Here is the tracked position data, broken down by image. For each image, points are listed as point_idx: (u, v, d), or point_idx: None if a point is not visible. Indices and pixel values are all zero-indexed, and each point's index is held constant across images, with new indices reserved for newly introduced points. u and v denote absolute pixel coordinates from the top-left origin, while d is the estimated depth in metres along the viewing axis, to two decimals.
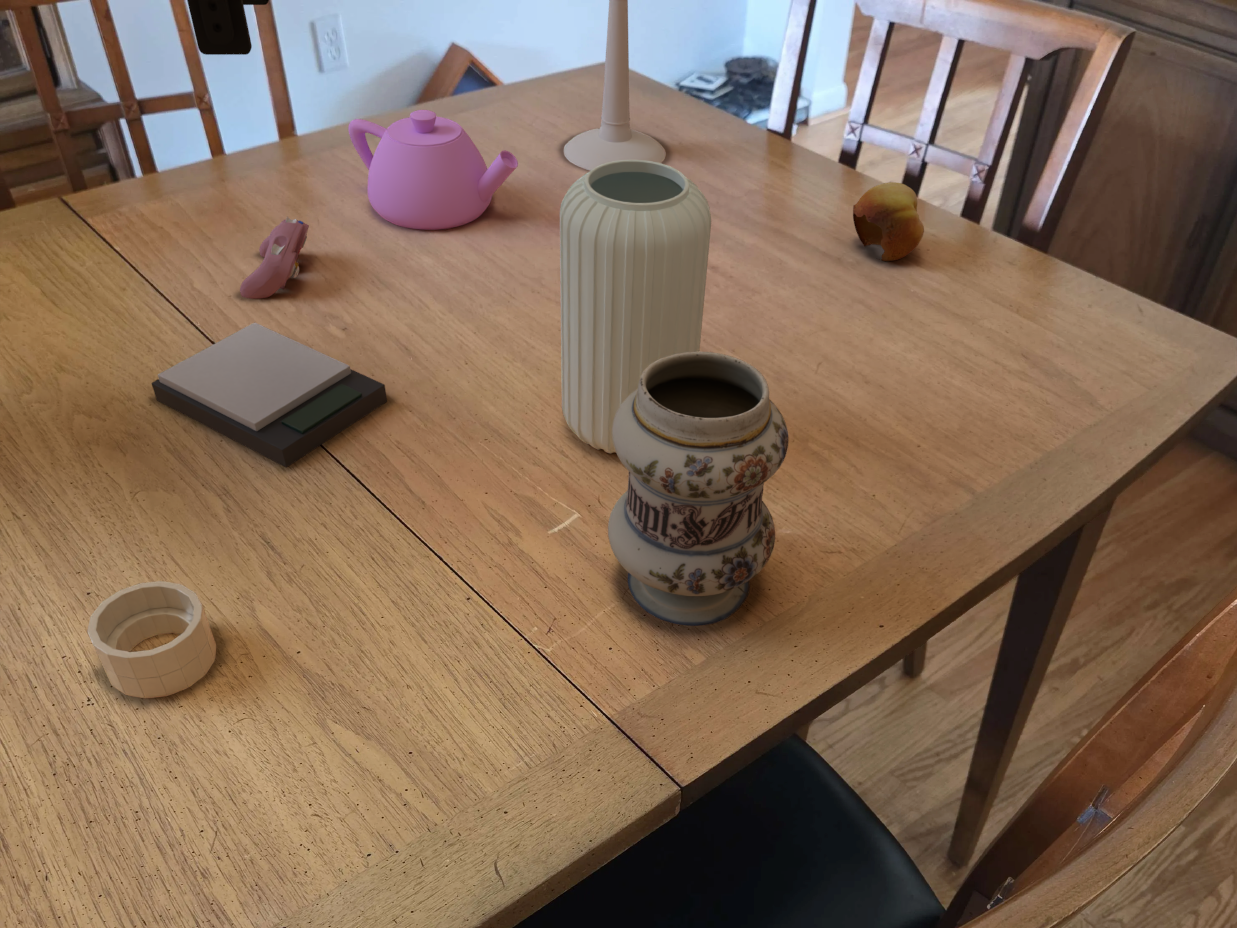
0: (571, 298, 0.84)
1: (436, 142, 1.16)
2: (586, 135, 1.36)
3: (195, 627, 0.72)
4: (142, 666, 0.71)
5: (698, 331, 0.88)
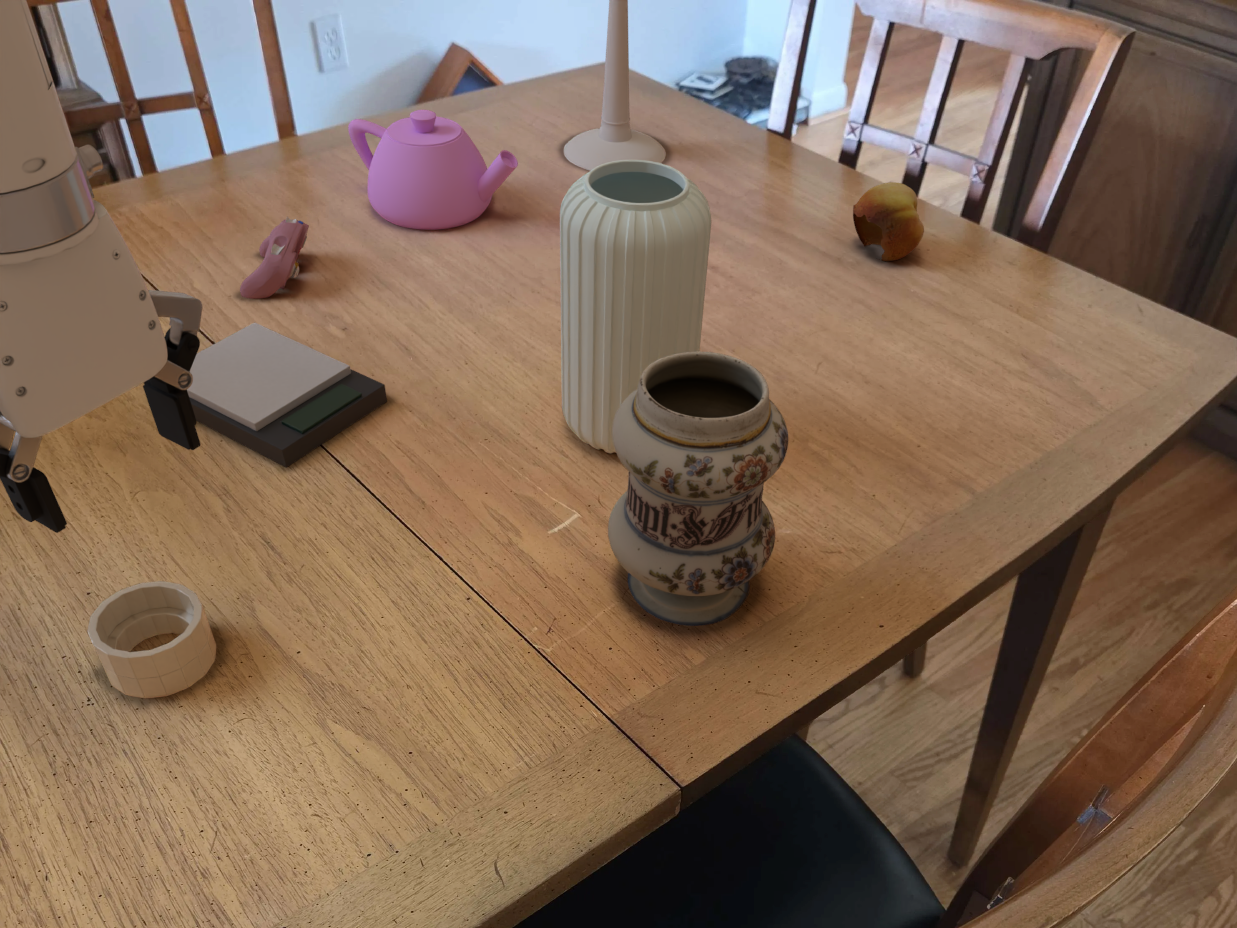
0: (571, 298, 0.84)
1: (436, 142, 1.16)
2: (586, 135, 1.36)
3: (195, 627, 0.72)
4: (142, 666, 0.71)
5: (698, 331, 0.88)
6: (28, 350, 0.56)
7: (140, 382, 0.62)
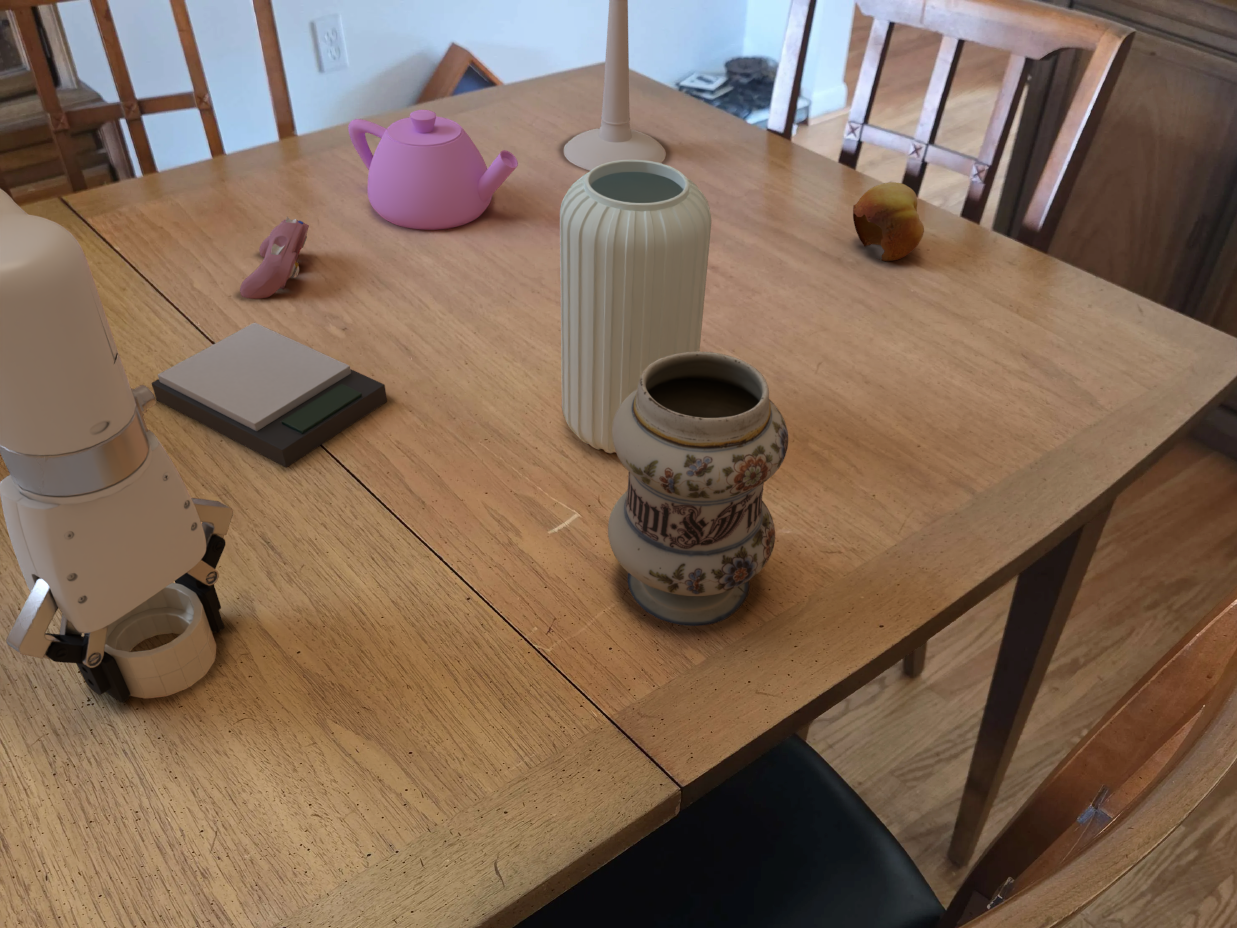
0: (571, 298, 0.84)
1: (436, 142, 1.16)
2: (586, 135, 1.36)
3: (195, 627, 0.72)
4: (142, 666, 0.71)
5: (698, 331, 0.88)
6: (89, 566, 0.64)
7: (182, 573, 0.71)
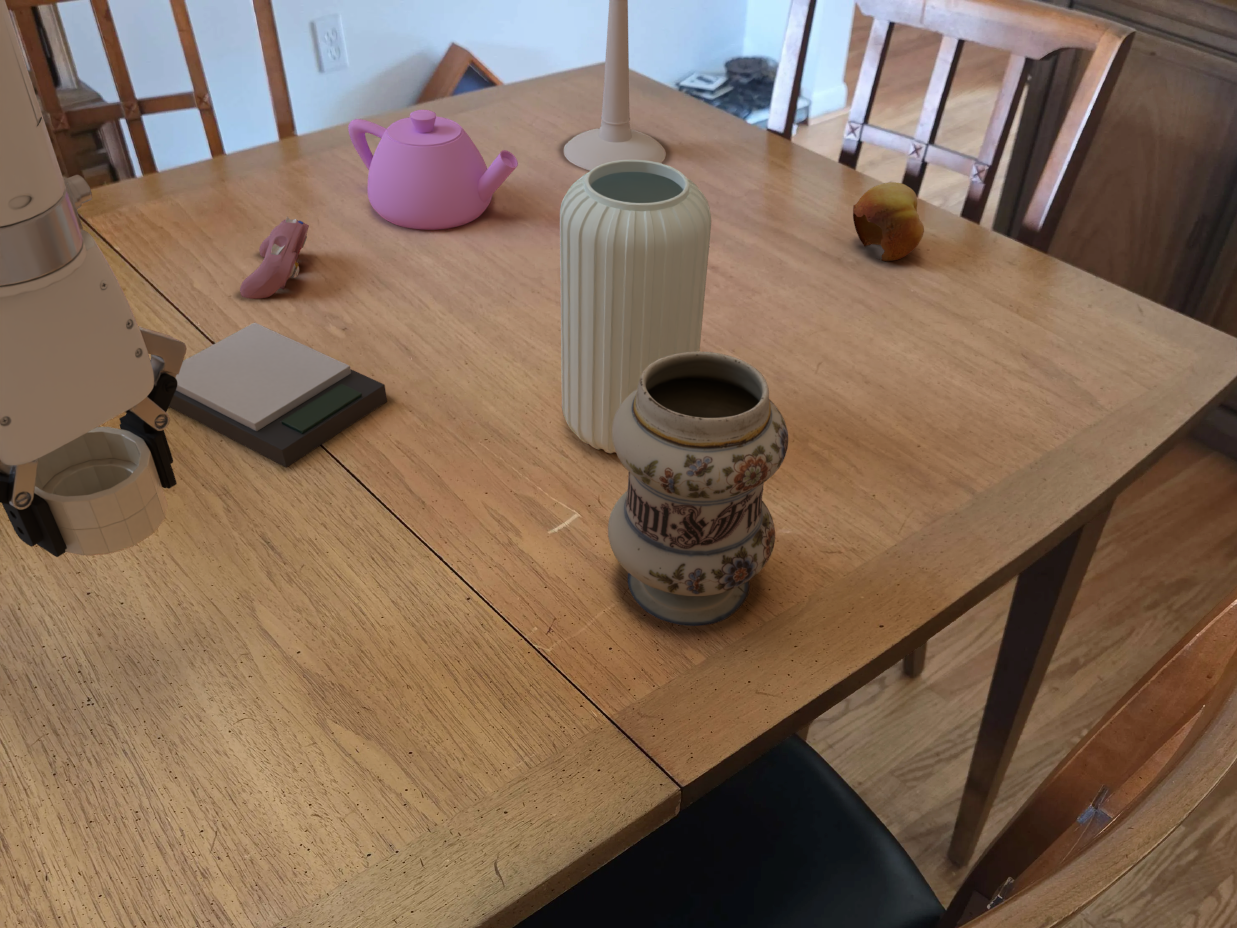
0: (571, 298, 0.84)
1: (436, 142, 1.16)
2: (586, 135, 1.36)
3: (141, 473, 0.64)
4: (79, 513, 0.62)
5: (698, 331, 0.88)
6: (13, 381, 0.56)
7: (126, 409, 0.62)
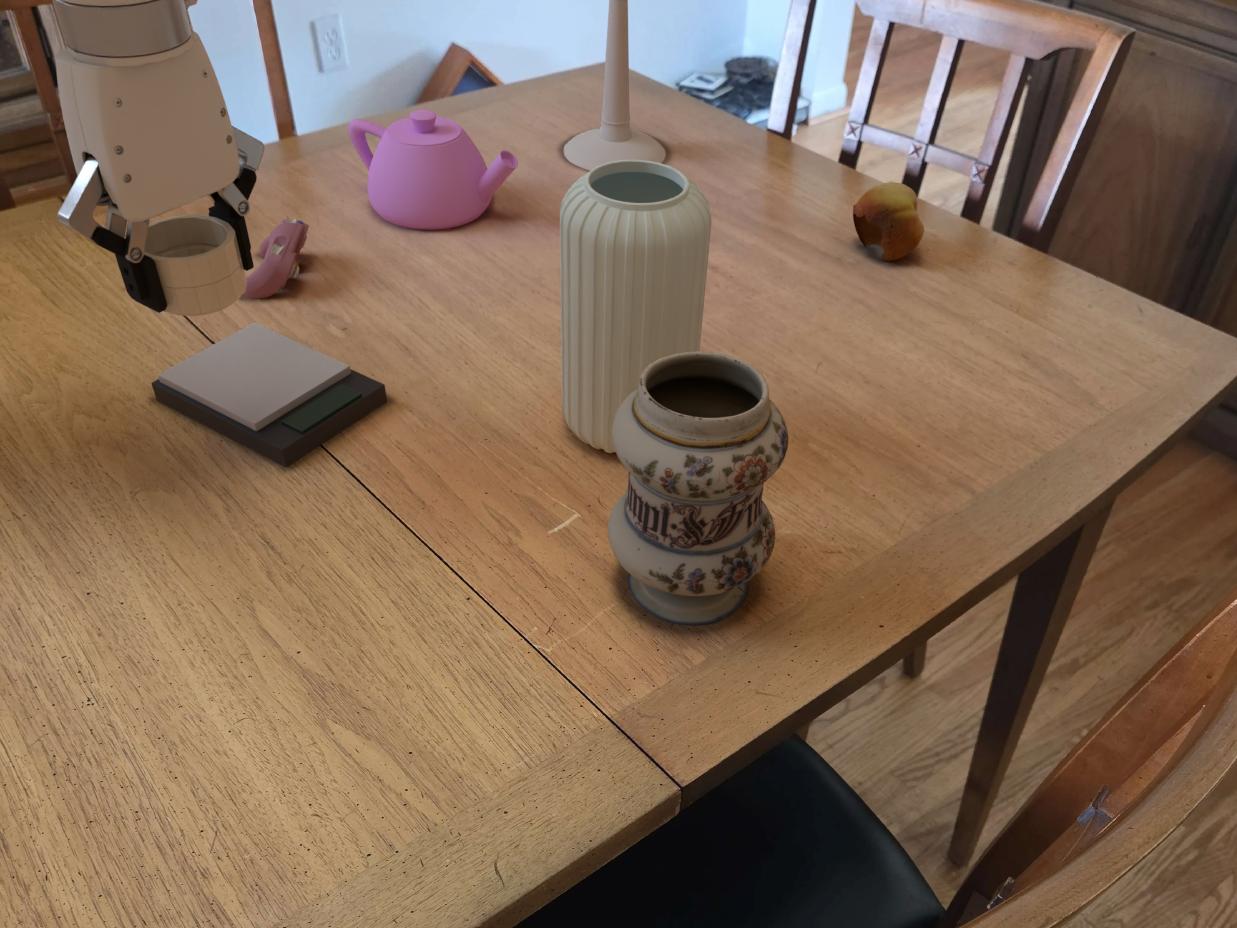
0: (571, 298, 0.84)
1: (436, 142, 1.16)
2: (586, 135, 1.36)
3: (228, 244, 0.78)
4: (179, 273, 0.77)
5: (698, 331, 0.88)
6: (134, 143, 0.70)
7: (217, 188, 0.77)
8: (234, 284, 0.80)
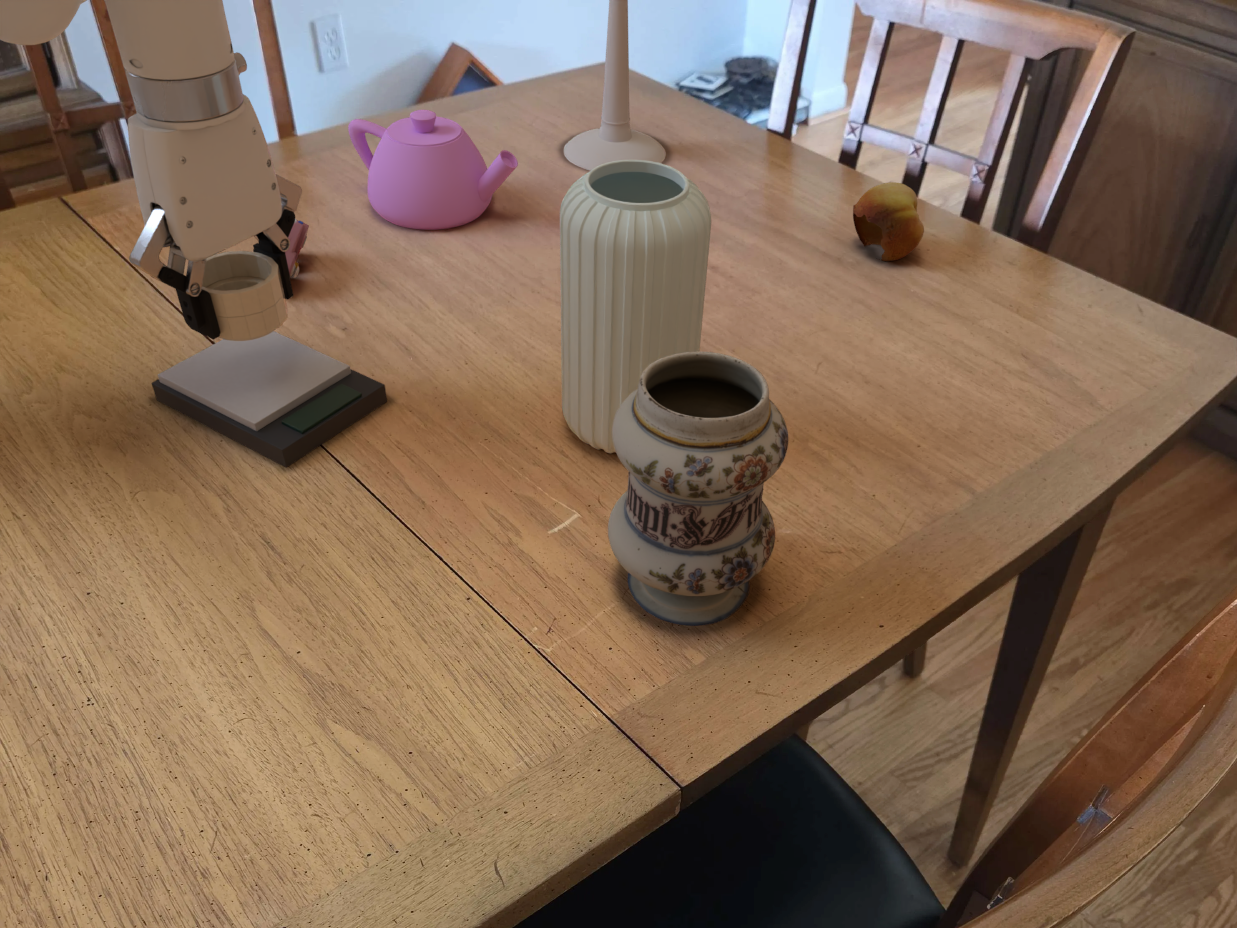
0: (571, 298, 0.84)
1: (436, 142, 1.16)
2: (586, 135, 1.36)
3: (273, 277, 0.89)
4: (232, 304, 0.87)
5: (698, 331, 0.88)
6: (196, 194, 0.80)
7: (263, 229, 0.87)
8: (278, 312, 0.90)
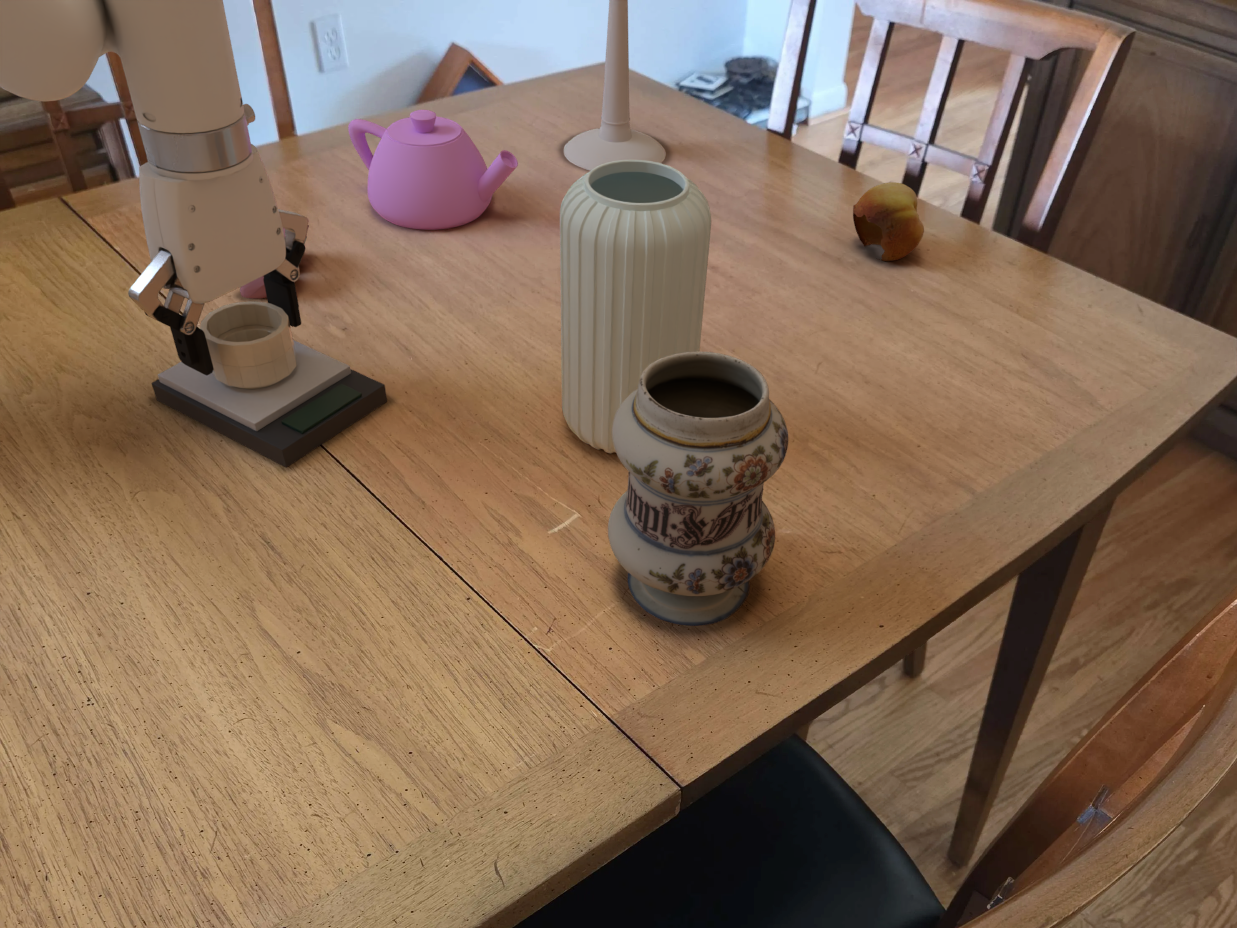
0: (571, 298, 0.84)
1: (436, 142, 1.16)
2: (586, 135, 1.36)
3: (283, 328, 0.92)
4: (243, 354, 0.90)
5: (698, 331, 0.88)
6: (204, 240, 0.83)
7: (267, 271, 0.90)
8: (288, 361, 0.94)
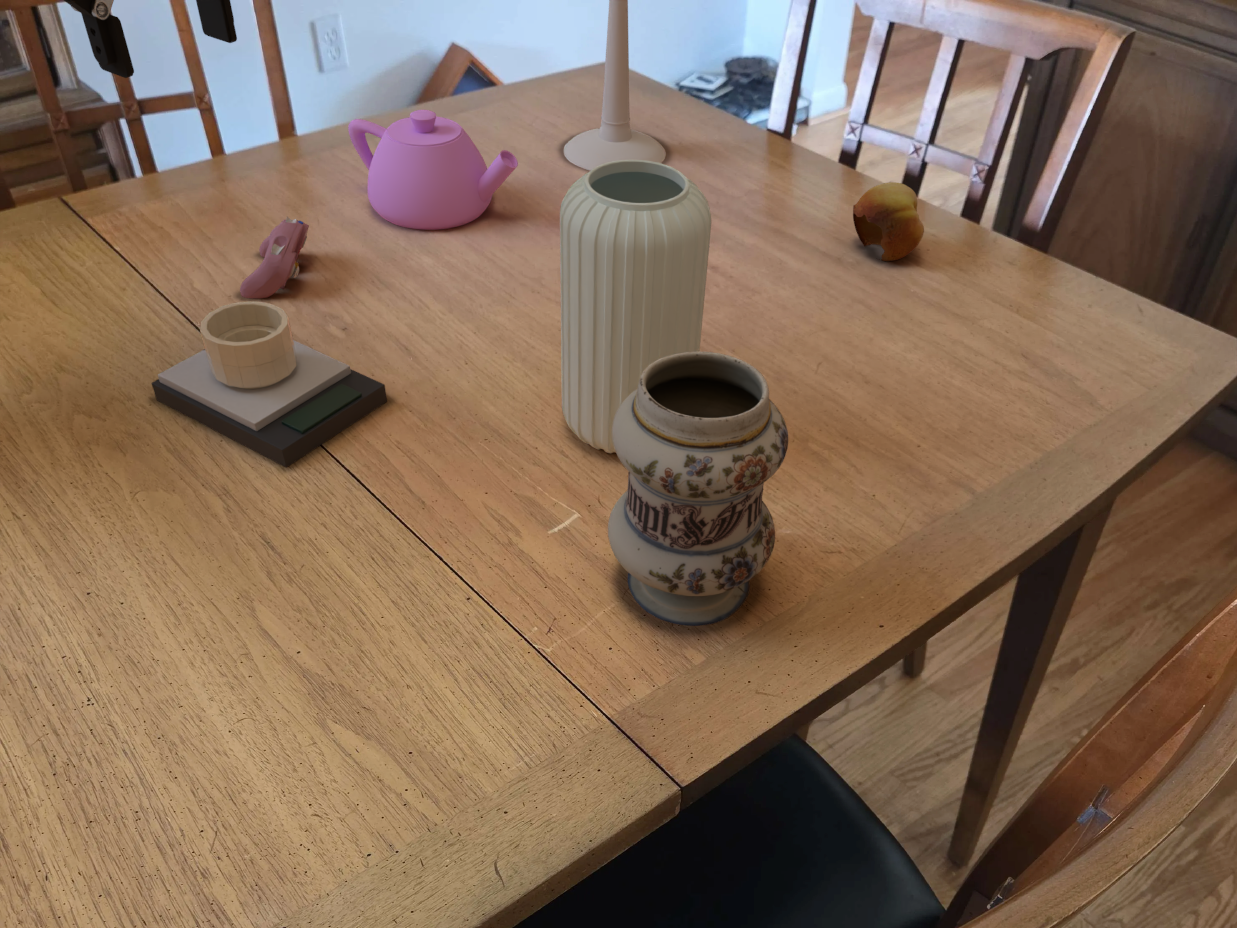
0: (571, 298, 0.84)
1: (436, 142, 1.16)
2: (586, 135, 1.36)
3: (283, 328, 0.92)
4: (243, 354, 0.90)
5: (698, 331, 0.88)
6: None
7: None
8: (288, 361, 0.94)
